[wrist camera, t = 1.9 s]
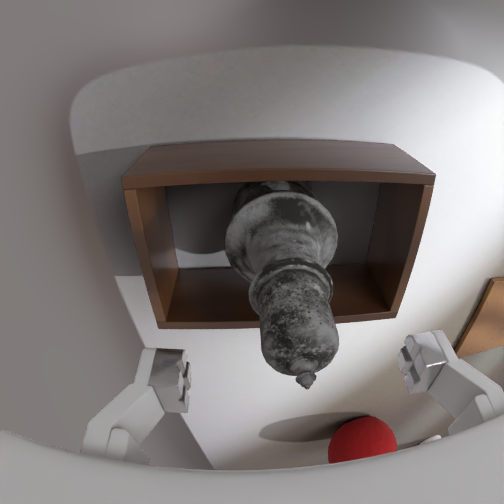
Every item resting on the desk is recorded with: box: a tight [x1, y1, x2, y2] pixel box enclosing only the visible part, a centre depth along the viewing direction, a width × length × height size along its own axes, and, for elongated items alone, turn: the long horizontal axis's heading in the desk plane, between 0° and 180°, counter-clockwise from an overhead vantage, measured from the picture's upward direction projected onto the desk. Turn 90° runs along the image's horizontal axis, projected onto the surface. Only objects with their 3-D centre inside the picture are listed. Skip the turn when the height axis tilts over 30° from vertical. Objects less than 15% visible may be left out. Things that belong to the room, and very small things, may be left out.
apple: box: [328, 416, 397, 464], centre depth 33 cm, size 9×9×10 cm
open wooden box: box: [121, 140, 436, 329], centre depth 17 cm, size 9×14×5 cm, turn 91°
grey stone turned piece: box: [225, 181, 339, 389], centre depth 14 cm, size 6×6×12 cm
